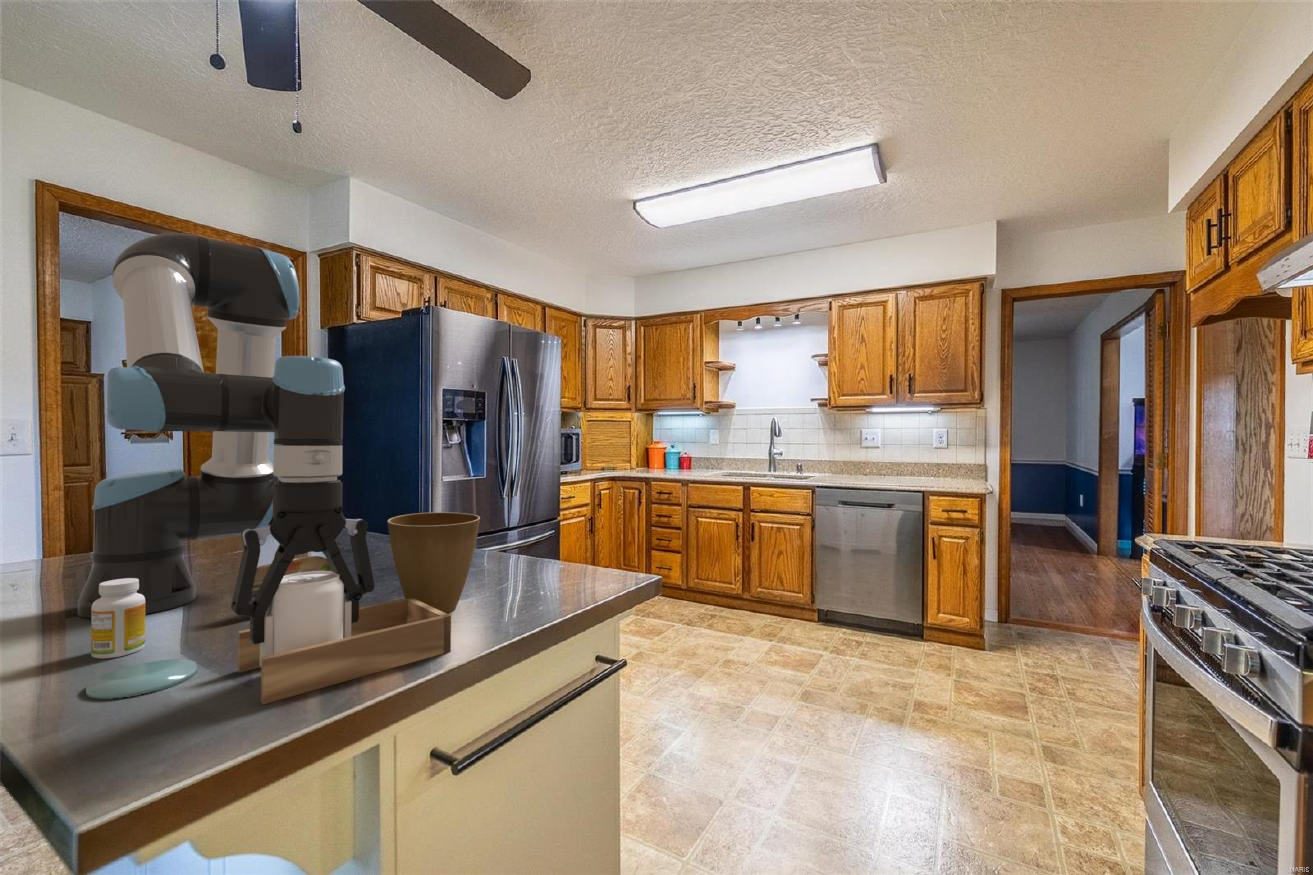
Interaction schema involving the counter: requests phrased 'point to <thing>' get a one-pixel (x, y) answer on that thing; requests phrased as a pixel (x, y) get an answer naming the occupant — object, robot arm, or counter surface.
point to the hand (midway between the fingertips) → (306, 657)
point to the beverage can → (307, 610)
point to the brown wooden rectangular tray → (352, 649)
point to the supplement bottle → (118, 619)
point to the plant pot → (433, 555)
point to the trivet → (141, 679)
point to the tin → (292, 570)
